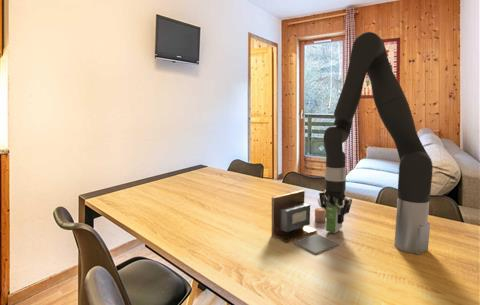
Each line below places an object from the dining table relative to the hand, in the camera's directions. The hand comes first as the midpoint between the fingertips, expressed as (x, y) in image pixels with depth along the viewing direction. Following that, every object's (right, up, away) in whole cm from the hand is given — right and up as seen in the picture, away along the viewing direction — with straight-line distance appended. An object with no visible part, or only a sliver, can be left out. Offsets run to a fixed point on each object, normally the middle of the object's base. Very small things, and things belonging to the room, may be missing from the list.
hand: (334, 220), depth 116 cm
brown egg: (-2, -3, +11) cm, 12 cm away
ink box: (0, -4, +1) cm, 4 cm away
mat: (-10, -6, -10) cm, 15 cm away
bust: (+6, -1, +25) cm, 26 cm away
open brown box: (-16, -5, -1) cm, 16 cm away
